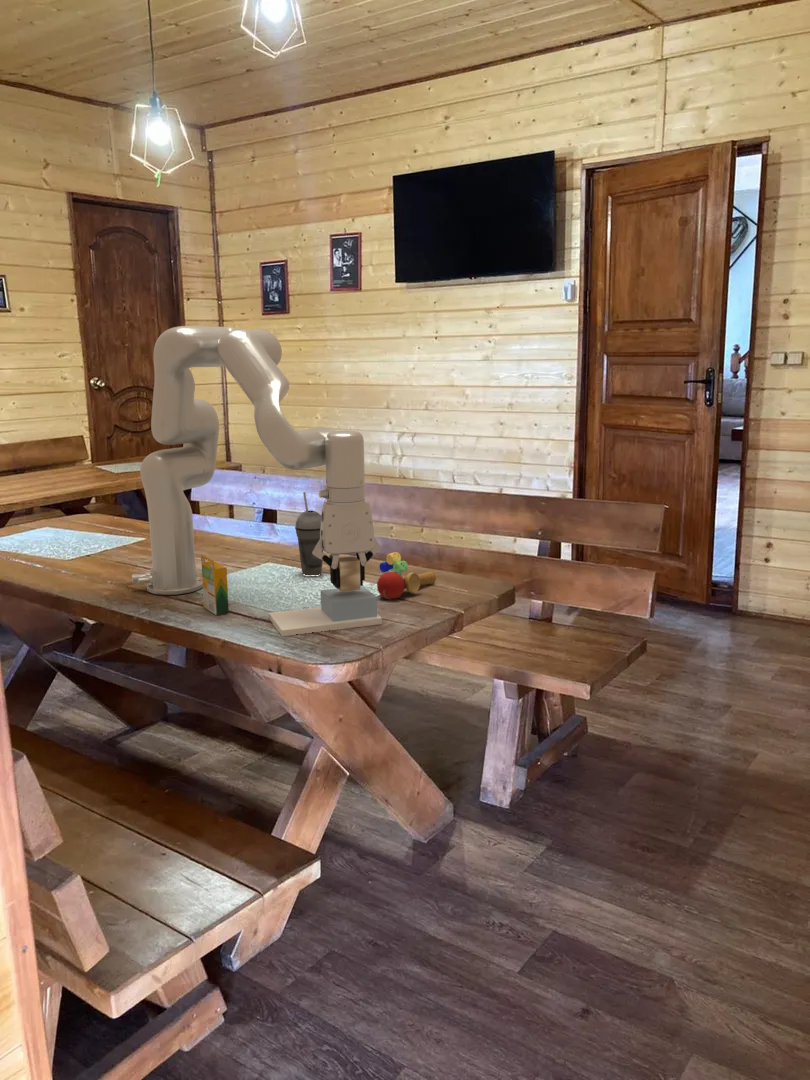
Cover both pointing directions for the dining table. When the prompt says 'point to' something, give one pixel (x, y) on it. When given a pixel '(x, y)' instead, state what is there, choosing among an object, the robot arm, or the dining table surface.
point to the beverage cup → (309, 540)
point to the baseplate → (314, 621)
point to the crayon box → (214, 586)
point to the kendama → (402, 583)
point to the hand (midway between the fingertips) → (347, 584)
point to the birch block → (349, 573)
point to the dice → (398, 564)
